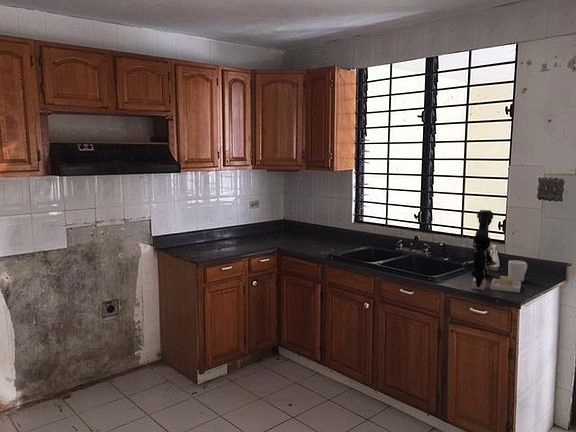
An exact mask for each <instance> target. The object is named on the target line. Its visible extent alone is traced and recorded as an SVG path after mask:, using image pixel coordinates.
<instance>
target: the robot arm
mask: <svg viewBox="0 0 576 432" xmlns="http://www.w3.org/2000/svg"><path fill="white" fill-rule="evenodd" d="M476 218H477V219H478V223H479V225H478V230H477V231H476V232H475V235H474V236H473V241H472V248H473V249H475V250H474V253H473V260H471V261H465V262H463V263H462V266H463V269H464V271H465V270H470V269H472V271H471V277H473V278H475V279H476V284H477V287H480V285H481V283H482V281H483V279H485V276H486V277H488V276H489V274H490V272H489V266H493V257H492V255H491V251H490V250H489V248H490V247H491V241H492V240H491V237H490V236H489V227H490V225H491V223H492V222H493V219H494V212H493V211H492V210H489V209H488V210H487V209H480V210H479V211H477V214H476Z"/></svg>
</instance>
